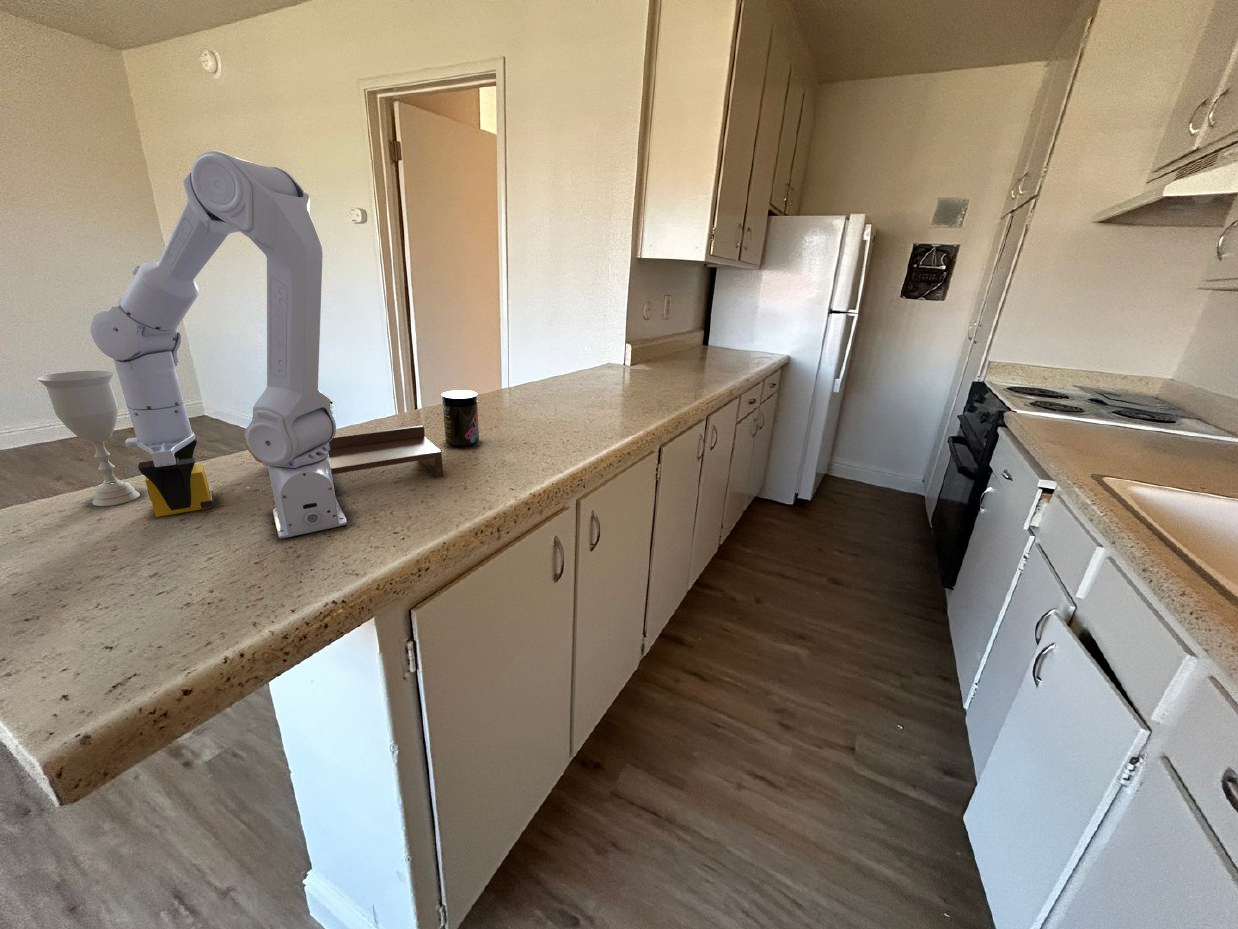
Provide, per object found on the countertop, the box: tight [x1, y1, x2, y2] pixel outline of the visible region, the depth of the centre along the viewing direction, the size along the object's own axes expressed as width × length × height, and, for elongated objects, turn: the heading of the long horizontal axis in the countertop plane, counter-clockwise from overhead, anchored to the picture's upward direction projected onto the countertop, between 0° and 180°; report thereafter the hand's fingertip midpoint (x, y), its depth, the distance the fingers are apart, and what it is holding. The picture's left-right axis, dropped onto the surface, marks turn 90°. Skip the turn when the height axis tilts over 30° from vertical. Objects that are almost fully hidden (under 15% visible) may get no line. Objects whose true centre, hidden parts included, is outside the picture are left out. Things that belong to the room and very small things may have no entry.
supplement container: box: [441, 390, 480, 449], centre depth 103 cm, size 7×7×10 cm
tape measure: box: [144, 463, 215, 518], centre depth 72 cm, size 4×6×6 cm, turn 126°
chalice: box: [36, 370, 141, 507], centre depth 71 cm, size 7×7×18 cm
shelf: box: [328, 425, 444, 478], centre depth 86 cm, size 10×18×6 cm, turn 126°
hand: (182, 497), depth 72 cm, fingers open, 7 cm apart
